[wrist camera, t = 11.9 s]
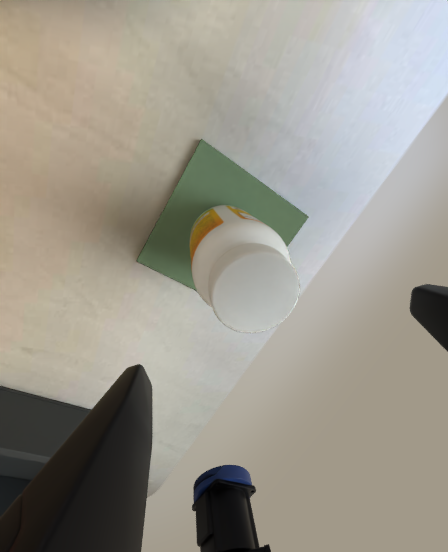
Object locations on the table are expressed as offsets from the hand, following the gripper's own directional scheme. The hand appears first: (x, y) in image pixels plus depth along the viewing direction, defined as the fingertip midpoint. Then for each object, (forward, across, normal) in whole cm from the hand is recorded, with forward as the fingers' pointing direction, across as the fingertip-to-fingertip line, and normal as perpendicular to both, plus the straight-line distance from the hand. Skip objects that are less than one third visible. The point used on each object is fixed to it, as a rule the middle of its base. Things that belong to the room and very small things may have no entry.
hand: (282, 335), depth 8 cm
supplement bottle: (+13, 0, 0) cm, 13 cm away
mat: (+13, 0, 0) cm, 13 cm away
